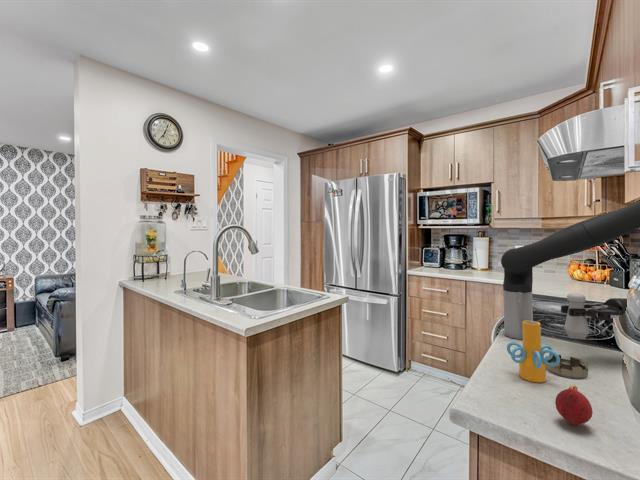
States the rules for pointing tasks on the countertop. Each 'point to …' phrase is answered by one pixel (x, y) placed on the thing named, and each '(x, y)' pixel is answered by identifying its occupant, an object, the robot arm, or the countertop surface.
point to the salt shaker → (576, 318)
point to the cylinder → (532, 353)
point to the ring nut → (568, 368)
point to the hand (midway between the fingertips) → (565, 310)
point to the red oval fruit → (573, 406)
